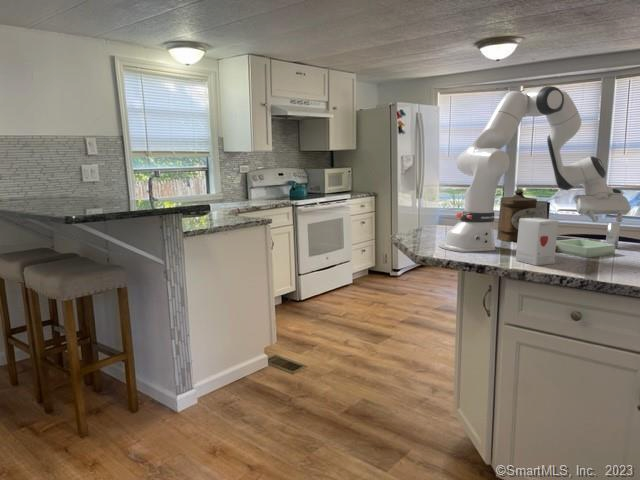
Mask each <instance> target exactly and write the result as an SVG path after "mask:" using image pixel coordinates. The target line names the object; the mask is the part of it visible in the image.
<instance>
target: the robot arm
mask: <svg viewBox="0 0 640 480" xmlns="http://www.w3.org/2000/svg"><path fill="white" fill-rule="evenodd" d="M543 116H545V117H546V119H547V122H548V124H549V127H550V133H549V134H548V136H547V140H546V141H547V147H548V153H549V156H550V160H551V165H552V168H553V177H554V183H555V185H556V186H557V187H558V189H561V190H562V191H563V190H564V191H569V190H572V189H573V188H576V186H580V185H582V188H583V189H584V194H576V195H575V196H574V197H573V200H574V203H575V208H576V213H578V214H579V215H587V216H588V218H590V219H591V221H592V223H598V221H599V218H598V216H596V215H604V216H605V215H612V216H613V215H614V216H615V215H616V216H617V217H616V218H615V220H616V223H622V222H623V220H624V219H623V216H626V215H628V213H630V212H631V209H632V206H631V205H630V202H629V200H628V198H627V197H626V196H625V195H624V191H623V190H622V189H617V188H614V187H611V186H609V185H608V184H607V183H606V173H607V172H606V170H605V168H604V165H603V162H602V160H601V159H600V158H597V157H596V156H588V157H585V158H583V159H579V160H578V161H575V162H573V163H569V164H567V165H564V164H563V160H562V159H563V158H562V156H561V149H562V148H563V147H564V145H565V144H567V142H569V141H570V140H571V139H572V138H574V137H575V135H577V134H578V132H579V131H580V128H581V126H582V119H581V116H580V112H579V110H578V109H577V106H576V104H575V103H574V101H573V99H572V98H571V96H570V95H569V94H568V92H566V91H565V90H561V89H560V88H559V87H557V86H553V85H552V86H550V85H547V86H541V87H540V86H539V87H537V86H536V87H531V88H527V89H522V90H520V91H519V90H510V91H509V92H507V93H505V95H504V96H503V97H502V98H501V100H500V101H499V102H498V104H497V105H496V107H495V108H494V110H493V111H492V114H491V115H490V117H489V119H488V121H487V123H486V124H485V125H484V128H483V129H482V131H481V132H480V133H479V135H478V136H477V137H476V138H475V139H474V140H473V142H472V143H471V144H469V146H468V147H467V148H466V149H465V150H464V151H462V152H461V153H459V155H458V156H457V159H456V166H457V169H458V171H459V172H460V173H463V174H464V175H467V176H469V177H470V176H471V177H473V178H472V181H471V183H470V186H469V187H468V188H467V189H466V190H465V195H464V208H463V209H464V210H463V212H462V213H461V212H458V211H457V212H456V218H459V219H460V220H459V221H458V222H457V223H456V224H455V225H454V226H452V227H451V228H450V229H449V230H448V231H447V232H446V234H445V239H444V240H445V241H444V242H442V243H439V244H438V247H439V248H442V249H445V250H448V251H452V252H461V253H466V252H467V253H468V252H469V253H470V252H485V251H488V252H489V251H496V243H495V234H494V233H495V232H494V222H495V217H496V216H495V211H494V209H495V207H494V206H495V200H496V199H495V197H496V192H497V191H496V190H497V187H498V185H499V183H500V179H501V178H502V177H503V176H504V174H505V173H506V172H507V171H508V170H509V167H510V162H511V161H510V156H509V155H508V153H507V152H506V151H503V150H502V149H503V148H504V147H506V146H507V145H508V144H509V143H510V142H511V140H512V138H513V137H514V135H515V133H516V131H517V130H518V128H519V126H520V124H521V122H522V120H523V118H525V117H534V118H535V117H543Z"/></svg>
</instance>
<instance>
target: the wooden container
mask: <svg viewBox="0 0 640 480" xmlns="http://www.w3.org/2000/svg"><path fill="white" fill-rule="evenodd" d="M499 201H500V204H499V205H500V206H499V212H498V213H499V214H498V224H497V239H498V240H499V241H503V242H509V243H517V240H518V229H519V219H520V218H536V204H537V201H538V199H537V198H534V197H525V196H524V190H522V189H517V188H516V189H515V190H514V195H513V196H505V197H504V196H503V197H501V198H500V200H499Z"/></svg>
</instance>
